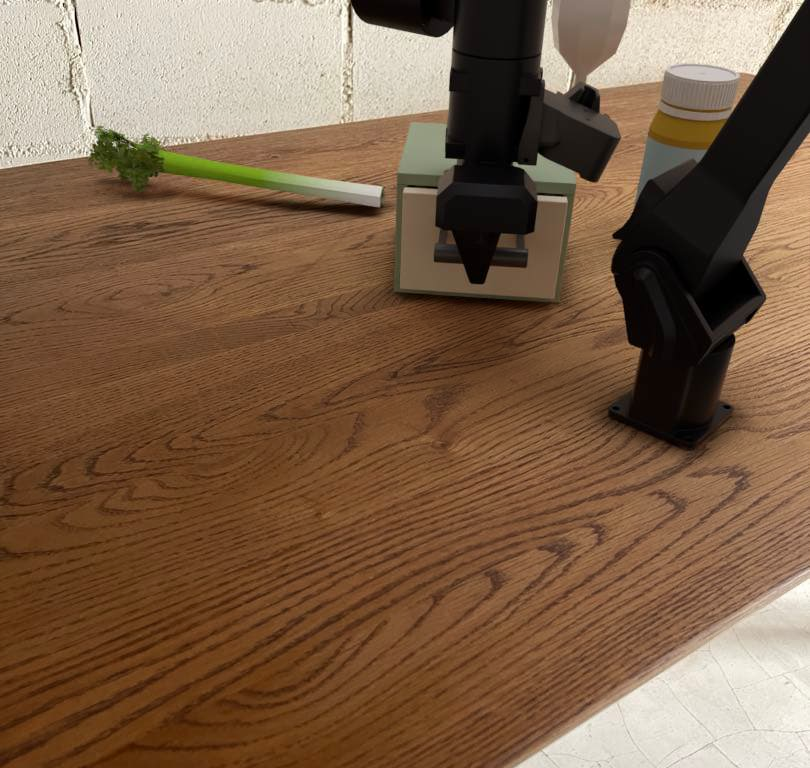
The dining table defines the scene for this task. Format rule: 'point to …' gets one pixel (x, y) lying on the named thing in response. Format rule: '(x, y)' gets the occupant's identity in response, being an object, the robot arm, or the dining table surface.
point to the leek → (215, 171)
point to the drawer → (512, 262)
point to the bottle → (687, 116)
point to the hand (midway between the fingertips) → (477, 282)
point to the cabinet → (429, 163)
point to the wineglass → (588, 32)
